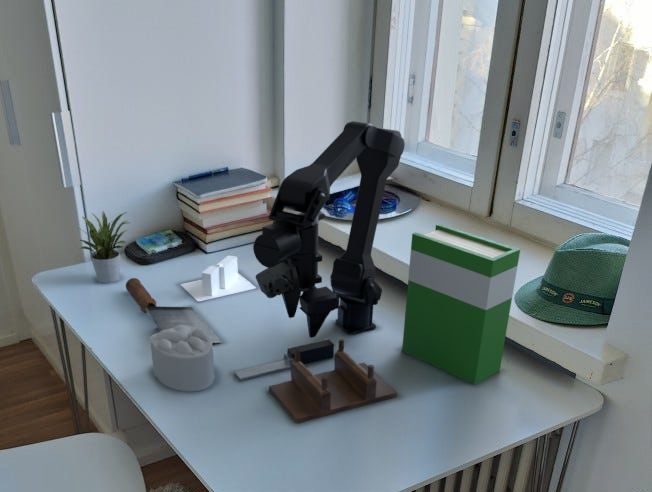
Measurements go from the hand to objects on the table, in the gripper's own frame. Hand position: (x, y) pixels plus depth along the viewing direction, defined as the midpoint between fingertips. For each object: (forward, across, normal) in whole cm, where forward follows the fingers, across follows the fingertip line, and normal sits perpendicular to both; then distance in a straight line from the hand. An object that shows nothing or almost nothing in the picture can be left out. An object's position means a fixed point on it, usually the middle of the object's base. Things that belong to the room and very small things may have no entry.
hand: (301, 327), depth 147 cm
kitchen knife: (+8, 0, -3) cm, 8 cm away
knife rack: (+8, +13, 0) cm, 15 cm away
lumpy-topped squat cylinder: (+8, -5, -22) cm, 24 cm away
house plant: (+8, -57, -23) cm, 62 cm away
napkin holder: (+8, -41, -2) cm, 42 cm away
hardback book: (+8, +12, +26) cm, 30 cm away
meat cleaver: (+8, -31, -17) cm, 36 cm away
